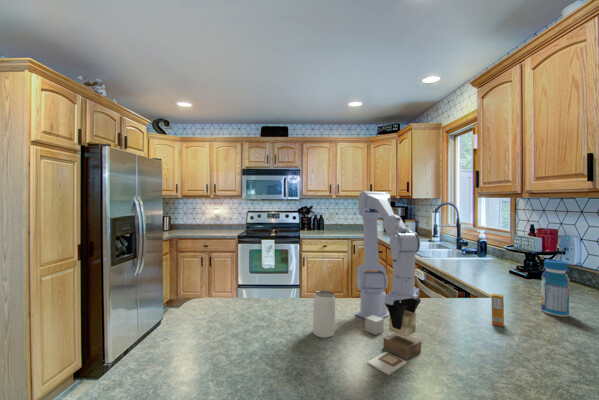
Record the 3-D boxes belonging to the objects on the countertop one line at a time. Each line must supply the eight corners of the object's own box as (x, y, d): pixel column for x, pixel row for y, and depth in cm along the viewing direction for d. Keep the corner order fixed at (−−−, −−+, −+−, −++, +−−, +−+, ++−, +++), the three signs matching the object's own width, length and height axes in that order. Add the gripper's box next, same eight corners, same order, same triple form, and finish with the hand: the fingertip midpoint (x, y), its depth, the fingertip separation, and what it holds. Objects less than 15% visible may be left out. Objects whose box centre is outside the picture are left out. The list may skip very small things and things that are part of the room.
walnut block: (398, 342, 83) (398, 331, 83) (420, 352, 77) (421, 341, 77) (383, 348, 78) (383, 337, 78) (406, 360, 73) (406, 348, 73)
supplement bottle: (554, 317, 105) (555, 263, 106) (534, 308, 114) (535, 258, 114) (576, 317, 106) (577, 263, 106) (554, 309, 114) (555, 259, 114)
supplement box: (491, 321, 99) (492, 292, 99) (504, 324, 97) (504, 294, 97) (490, 324, 97) (491, 294, 97) (503, 327, 94) (503, 297, 95)
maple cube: (398, 325, 82) (399, 308, 82) (415, 331, 78) (415, 313, 78) (389, 330, 79) (389, 311, 79) (405, 336, 75) (406, 317, 75)
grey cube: (372, 327, 92) (373, 314, 92) (383, 331, 88) (383, 318, 89) (365, 330, 89) (365, 317, 89) (376, 335, 86) (376, 321, 86)
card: (385, 353, 75) (385, 351, 75) (406, 363, 71) (406, 361, 71) (367, 363, 70) (367, 361, 70) (388, 375, 66) (388, 372, 66)
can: (316, 339, 82) (318, 297, 82) (310, 329, 88) (311, 290, 88) (337, 337, 83) (339, 296, 84) (329, 328, 90) (330, 289, 90)
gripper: (402, 283, 71) (401, 338, 71) (430, 275, 80) (429, 324, 80) (378, 277, 76) (377, 328, 76) (406, 270, 86) (405, 315, 85)
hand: (402, 325), depth 78 cm, fingers closed on maple cube, 5 cm apart
